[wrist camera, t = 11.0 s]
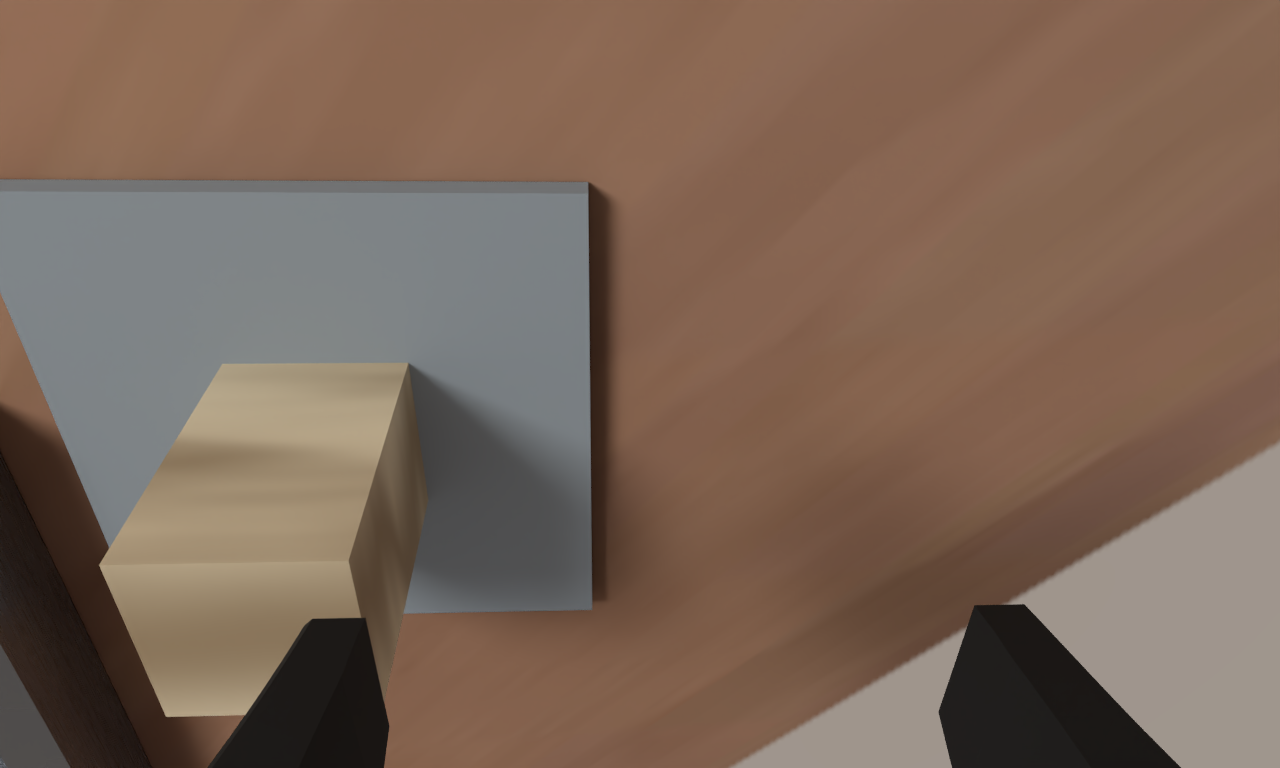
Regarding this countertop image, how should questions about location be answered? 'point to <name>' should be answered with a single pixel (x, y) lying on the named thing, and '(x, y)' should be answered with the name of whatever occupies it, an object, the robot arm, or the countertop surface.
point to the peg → (272, 528)
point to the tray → (50, 662)
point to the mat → (331, 343)
